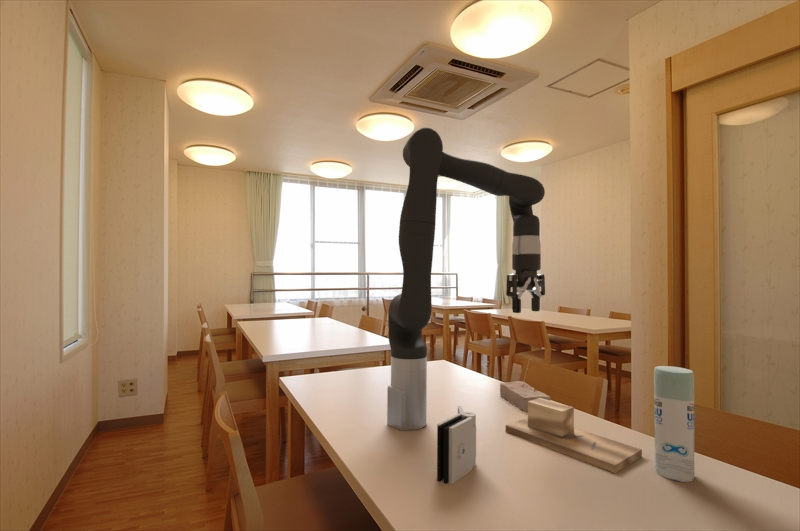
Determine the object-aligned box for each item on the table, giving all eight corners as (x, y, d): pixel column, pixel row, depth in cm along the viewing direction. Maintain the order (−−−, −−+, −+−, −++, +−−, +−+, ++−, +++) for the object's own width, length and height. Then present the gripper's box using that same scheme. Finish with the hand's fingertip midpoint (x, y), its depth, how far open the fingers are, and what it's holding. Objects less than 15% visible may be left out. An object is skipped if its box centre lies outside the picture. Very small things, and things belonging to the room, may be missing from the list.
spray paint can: (696, 485, 74) (695, 375, 74) (654, 476, 77) (653, 370, 78) (693, 471, 79) (692, 368, 80) (654, 463, 83) (653, 364, 83)
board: (615, 473, 78) (614, 464, 78) (505, 431, 99) (505, 424, 99) (642, 456, 85) (641, 449, 86) (534, 421, 106) (534, 415, 106)
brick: (552, 411, 115) (552, 394, 115) (525, 413, 113) (525, 396, 113) (522, 395, 131) (522, 380, 131) (498, 396, 129) (498, 381, 129)
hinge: (457, 452, 87) (458, 405, 87) (482, 457, 85) (482, 409, 85) (433, 481, 75) (434, 426, 75) (461, 488, 72) (461, 431, 73)
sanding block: (562, 438, 91) (561, 411, 91) (527, 426, 98) (527, 401, 98) (574, 433, 94) (573, 407, 94) (539, 422, 101) (539, 397, 101)
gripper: (530, 254, 119) (530, 309, 119) (498, 252, 110) (498, 312, 110) (553, 253, 113) (553, 311, 113) (521, 251, 104) (521, 314, 104)
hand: (526, 312), depth 111 cm, fingers open, 8 cm apart
